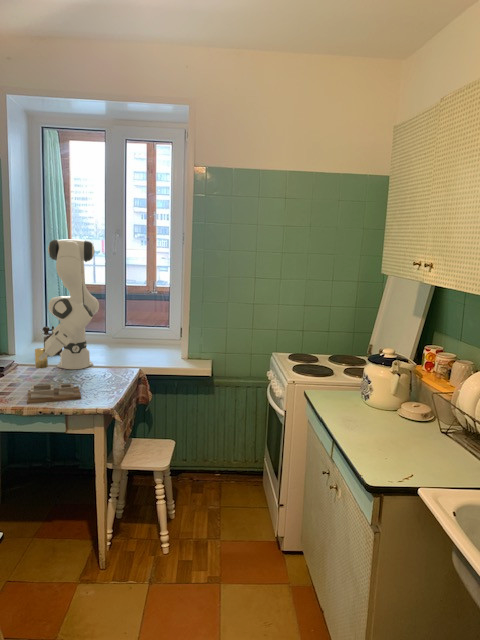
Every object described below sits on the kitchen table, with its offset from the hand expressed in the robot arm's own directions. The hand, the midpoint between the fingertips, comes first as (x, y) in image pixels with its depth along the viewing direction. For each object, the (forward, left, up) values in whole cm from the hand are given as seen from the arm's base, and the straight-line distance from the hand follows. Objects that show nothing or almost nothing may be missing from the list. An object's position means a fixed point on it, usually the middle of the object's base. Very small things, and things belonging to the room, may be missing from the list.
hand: (39, 357), depth 213 cm
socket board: (0, +6, -18) cm, 19 cm away
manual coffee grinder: (-79, +7, -19) cm, 81 cm away
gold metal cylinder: (0, +1, -4) cm, 4 cm away
